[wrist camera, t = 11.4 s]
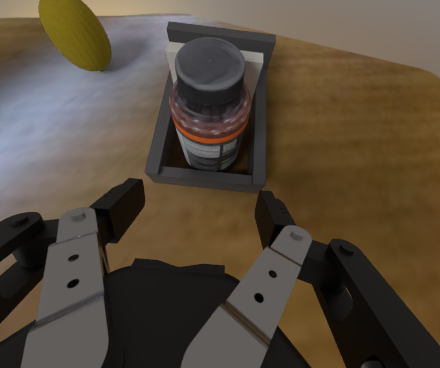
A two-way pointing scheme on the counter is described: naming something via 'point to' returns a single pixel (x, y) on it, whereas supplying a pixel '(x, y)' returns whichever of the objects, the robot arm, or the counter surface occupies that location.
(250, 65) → the plate
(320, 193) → the counter surface
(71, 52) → the lemon
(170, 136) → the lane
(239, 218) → the counter surface
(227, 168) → the supplement bottle
